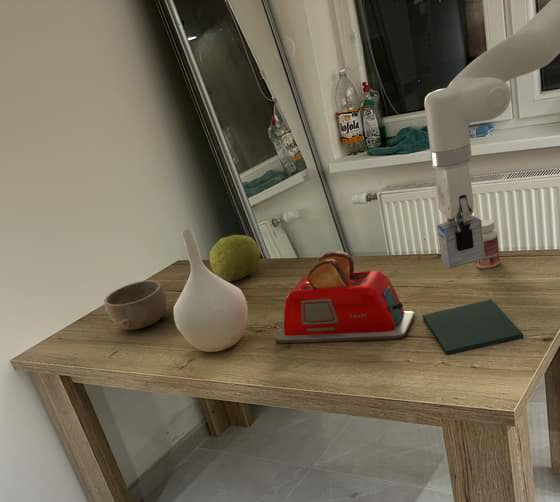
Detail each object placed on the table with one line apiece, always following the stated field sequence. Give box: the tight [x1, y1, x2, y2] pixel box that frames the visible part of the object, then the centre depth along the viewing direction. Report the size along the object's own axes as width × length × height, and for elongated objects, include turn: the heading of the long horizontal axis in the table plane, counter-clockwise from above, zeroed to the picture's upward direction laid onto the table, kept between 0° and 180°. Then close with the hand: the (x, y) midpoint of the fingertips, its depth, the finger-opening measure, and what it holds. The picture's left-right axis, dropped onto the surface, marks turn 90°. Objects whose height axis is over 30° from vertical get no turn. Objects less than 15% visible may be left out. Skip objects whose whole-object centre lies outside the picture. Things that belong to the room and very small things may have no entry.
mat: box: [422, 299, 524, 356], centre depth 148 cm, size 16×20×1 cm
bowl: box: [103, 280, 167, 331], centre depth 196 cm, size 17×18×10 cm
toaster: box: [274, 251, 416, 344], centre depth 158 cm, size 32×13×19 cm, turn 68°
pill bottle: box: [474, 219, 501, 269], centre depth 176 cm, size 6×6×11 cm
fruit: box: [209, 234, 261, 283], centre depth 213 cm, size 16×14×15 cm
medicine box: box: [436, 214, 485, 270], centre depth 140 cm, size 8×4×9 cm, turn 99°
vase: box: [173, 228, 249, 353], centre depth 166 cm, size 18×18×30 cm
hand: (461, 244), depth 140 cm, fingers closed on medicine box, 4 cm apart
